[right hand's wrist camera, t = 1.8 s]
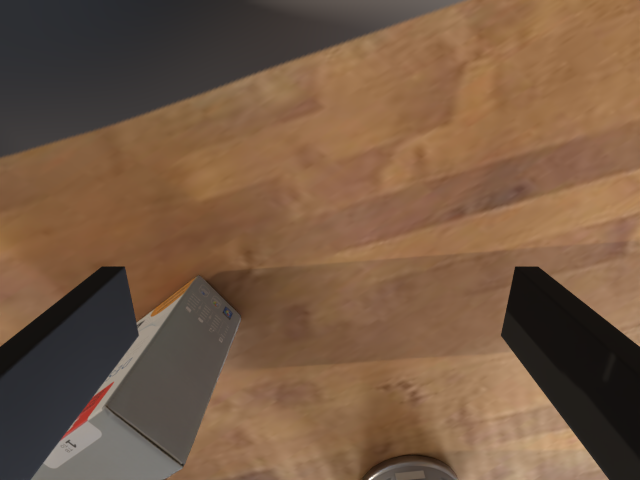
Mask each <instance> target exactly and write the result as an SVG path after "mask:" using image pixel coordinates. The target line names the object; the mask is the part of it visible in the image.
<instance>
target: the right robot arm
mask: <svg viewBox="0 0 640 480" xmlns="http://www.w3.org/2000/svg"><path fill="white" fill-rule="evenodd" d="M138 336H139V333H138V328H137V323H136V319H135V314H134V309H133V304H132V299H131V294H130V290H129V285H128V280H127V275H126V270H125V267H101V268H100V269H98V270H97V271H96V272H95V273H93V274H92V275H91V276H89V277H88V278H87V279H86V280H84V281H83V282H82V283H81V284H79V285H78V286H77V287H76V288H74V289H73V290H72V291H70V292H69V293H68V294H67V295H65V296H64V297H63V298H62V299H60V300H59V301H58V302H57V303H55V304H54V305H53V306H51V307H50V308H49V309H48V310H46V311H45V312H44V313H43V314H41V315H40V316H39V317H37V318H36V319H35V320H34V321H32V322H31V323H30V324H29V325H27V326H26V327H25V328H24V329H22V330H21V331H20V332H18V333H17V334H16V335H15V336H13V337H12V338H11V339H10V340H8V341H7V342H6V343H5V344H3V345H2V346H1V347H0V480H31V479H32V477H33V476H34V475H35V473H36V472H37V471H38V469H39V468H40V467H41V465H42V464H43V463H44V461H45V460H46V459H47V457H48V456H49V455H50V453H51V452H52V451H53V449H54V448H55V447H56V445H57V444H58V443H59V441H60V440H61V439H62V437H63V436H64V435H65V433H66V432H67V431H68V430H69V428H70V427H71V426H72V424H73V423H74V422H75V420H76V419H77V418H78V416H79V415H80V414H81V412H82V411H83V410H84V408H85V407H86V406H87V404H88V403H89V402H90V400H91V399H92V398H93V396H94V395H95V394H96V392H97V391H98V390H99V388H100V387H101V386H102V384H103V383H104V382H105V380H106V379H107V378H108V376H109V375H110V374H111V372H112V371H113V370H114V368H115V367H116V366H117V364H118V363H119V362H120V360H121V359H122V358H123V356H124V355H125V354H126V352H127V351H128V350H129V348H130V347H131V346H132V344H133V343H134V342H135V340H136V339H137V338H138ZM501 336H502V338H503V339H504V340H505V342H506V343H507V344H508V346H509V347H510V348H511V350H512V351H513V352H514V354H515V355H516V356H517V358H518V359H519V360H520V362H521V363H522V364H523V366H524V367H525V368H526V370H527V371H528V372H529V374H530V375H531V376H532V378H533V379H534V380H535V382H536V383H537V384H538V386H539V387H540V388H541V390H542V391H543V392H544V394H545V395H546V396H547V398H548V399H549V400H550V402H551V403H552V404H553V406H554V407H555V408H556V410H557V411H558V412H559V414H560V415H561V416H562V418H563V419H564V420H565V422H566V423H567V424H568V426H569V427H570V428H571V430H572V431H573V432H574V434H575V435H576V436H577V437H578V439H579V440H580V441H581V443H582V444H583V445H584V447H585V448H586V449H587V451H588V452H589V453H590V455H591V456H592V457H593V459H594V460H595V461H596V463H597V464H598V465H599V467H600V468H601V469H602V471H603V472H604V473H605V475H606V476H607V477H608V479H609V480H640V347H639V346H638V345H637V344H635V343H634V342H633V341H632V340H630V339H629V338H628V337H627V336H625V335H624V334H623V333H622V332H620V331H619V330H618V329H616V328H615V327H614V326H613V325H611V324H610V323H609V322H608V321H606V320H605V319H604V318H602V317H601V316H600V315H599V314H597V313H596V312H595V311H594V310H592V309H591V308H590V307H589V306H587V305H586V304H585V303H583V302H582V301H581V300H580V299H578V298H577V297H576V296H575V295H573V294H572V293H571V292H570V291H568V290H567V289H566V288H564V287H563V286H562V285H561V284H559V283H558V282H557V281H556V280H554V279H553V278H552V277H551V276H549V275H548V274H547V273H545V272H544V271H543V270H542V269H540V268H539V267H515V270H514V275H513V280H512V285H511V290H510V294H509V299H508V304H507V309H506V314H505V319H504V323H503V328H502V333H501ZM362 480H458V478H457V476H456V474H455V473H454V471H453V470H452V469H451V468H450V467H449V466H447V465H446V464H444V463H443V462H441V461H439V460H436V459H433V458H430V457H425V456H414V455H412V456H401V457H396V458H392V459H389V460H386V461H384V462H382V463H380V464H378V465H376V466H375V467H373V468H372V469H371V470H370V471H369V472H367V474H366V475H365V476H364V477H363V479H362Z"/></svg>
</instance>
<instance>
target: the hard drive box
mask: <svg viewBox="0 0 640 480" xmlns="http://www.w3.org/2000/svg"><path fill="white" fill-rule="evenodd" d="M240 317H241V316H240V315H239V314H238V313H237V311H236V310H235V309H233V308H232V307H231V306H230V305H229V304H228V303H227V302H226V301H225V300H224V299H223V298H222V297H221V296H220V295H219V294H218V293H217V292H216V291H215V290H214V289H213V288H212V287H211V286H210V285H209V284H208V283H207V282H206V281H205V280H204V279H203V278H202V277H201V276H199V275H198V276H197V277H195V278H194V279H192V280H191V281H190V282H189V283H187V284H186V285H185V286H183V287H182V288H181V289H179V290H178V291H177V292H176V293H174V294H173V295H172V296H170V297H169V298H168V299H167V300H165V301H164V302H163V303H161V304H160V305H159V306H158V307H156V308H155V309H154V310H152V311H151V312H150V313H149V314H147V315H146V316H145V317H143V318H142V319H141V320H139V321H138V322H137V328H138V333H139V336H138V338H137V339H136V340H135V342H134V343H133V344H132V346H131V347H130V348H129V350H128V351H127V352H126V354H125V355H124V356H123V358H122V359H121V360H120V362H119V363H118V364H117V366H116V367H115V368H114V370H113V371H112V372H111V374H110V375H109V376H108V378H107V379H106V380H105V382H104V383H103V384H102V386H101V387H100V388H99V390H98V391H97V392H96V394H95V395H94V396H93V398H92V399H91V400H90V402H89V403H88V404H87V406H86V407H85V408H84V410H83V411H82V412H81V414H80V415H79V416H78V418H77V419H76V420H75V422H74V423H73V424H72V426H71V427H70V428H69V430H68V431H67V432H66V433H65V435H64V436H63V437H62V439H61V440H60V441H59V443H58V444H57V445H56V447H55V448H54V449H53V451H52V452H51V453H50V455H49V456H48V457H47V459H46V460H45V461H44V463H43V464H42V465H41V467H40V468H39V469H38V471H37V472H36V473H35V475H34V476H33V477H32V479H31V480H165V479H166V478H168V477H169V476H171V475H173V474H174V473H176V472H177V471H179V470H180V469H182V468H183V466H184V464H185V463H186V460H187V457H188V455H189V453H190V450H191V447H192V445H193V443H194V440H195V437H196V434H197V432H198V429H199V427H200V424H201V421H202V419H203V416H204V414H205V411H206V408H207V406H208V403H209V401H210V398H211V395H212V393H213V390H214V388H215V385H216V383H217V380H218V378H219V375H220V373H221V370H222V367H223V365H224V362H225V360H226V357H227V355H228V352H229V349H230V347H231V344H232V342H233V339H234V337H235V334H236V332H237V329H238V326H239V324H240V321H241V318H240Z"/></svg>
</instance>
